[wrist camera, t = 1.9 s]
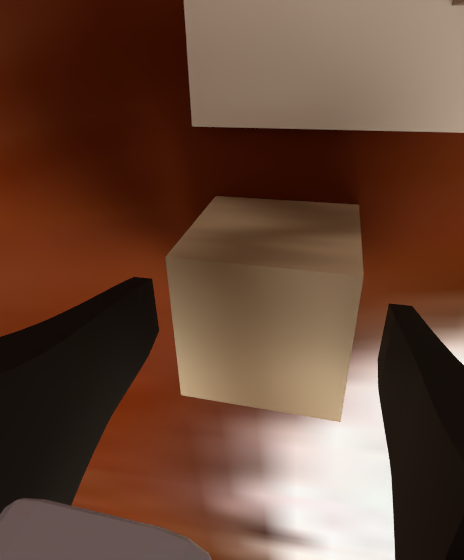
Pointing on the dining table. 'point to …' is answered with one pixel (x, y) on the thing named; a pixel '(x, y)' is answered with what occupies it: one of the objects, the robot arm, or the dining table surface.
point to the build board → (327, 64)
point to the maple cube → (267, 303)
